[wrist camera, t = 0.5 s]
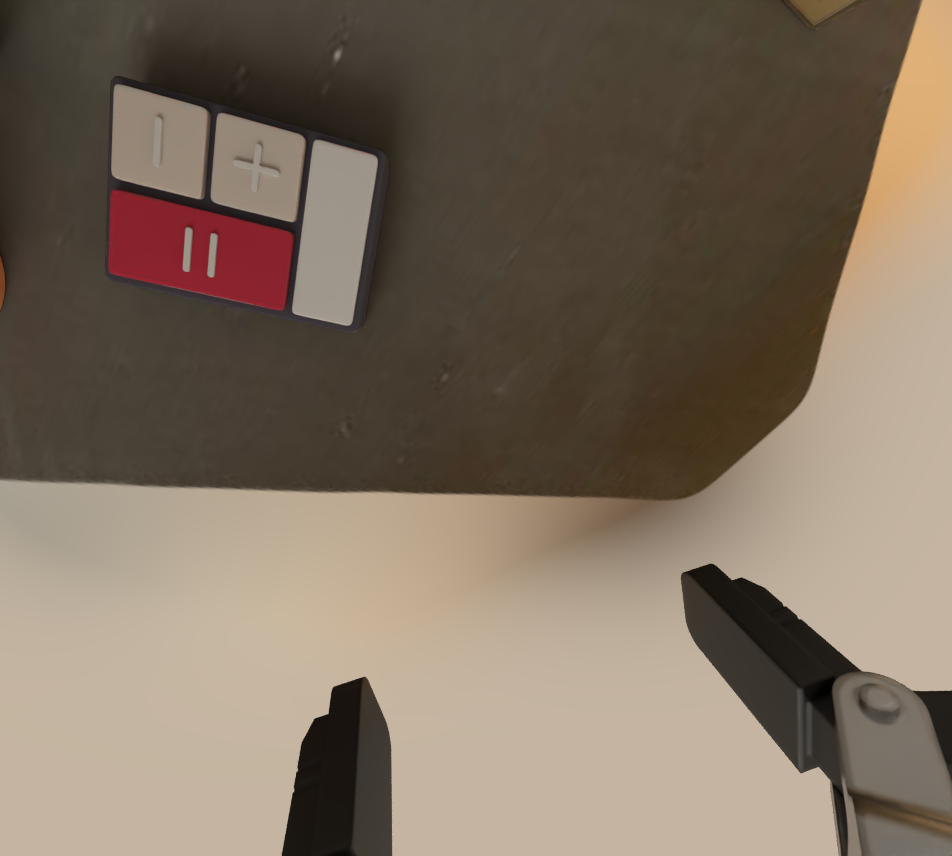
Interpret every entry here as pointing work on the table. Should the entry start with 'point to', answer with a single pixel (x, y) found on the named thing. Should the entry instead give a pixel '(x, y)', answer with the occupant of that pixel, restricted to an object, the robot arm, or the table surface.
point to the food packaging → (820, 10)
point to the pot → (2, 283)
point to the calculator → (240, 208)
